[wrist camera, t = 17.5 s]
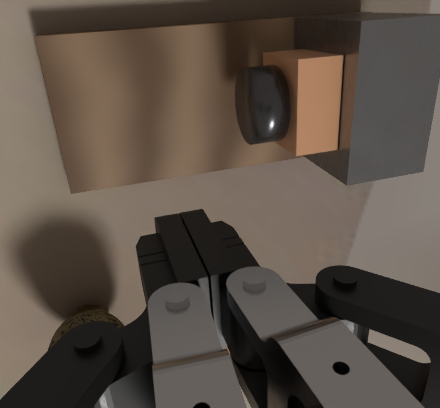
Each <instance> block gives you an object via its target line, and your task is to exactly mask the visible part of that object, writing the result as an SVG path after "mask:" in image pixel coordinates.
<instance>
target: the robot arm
mask: <svg viewBox="0 0 440 408" xmlns="http://www.w3.org/2000/svg"><path fill="white" fill-rule="evenodd" d="M155 228H156V233H155V234H150V235H145V236H141V237H140V239H139V241H138V243H137V245H136V251H137V257H138V263H139V269H140V275H141V281H142V287H143V291H144V296H145V300H146V305H147V306H146V309H145V310H144V312H143V313H142V314H141V315H140V316H139V317H138V318H137V319H136V320H134V321H133V322H131V323H130V324H128V325H126V326H124V327H122V328H120V329H119V328H118V327H117V326H115V325H114V324H112V323H109V322H105V321H92V322H87V323H84V324H81V325H78V326H76V327H74V328H72V329H71V330H69V331H68V332H66V333H65V334H64V335H63V336H62V337H61V338H60V339H59V340H58V341H57V342H56V343H55V344H54V345H53V346H52V347H51V348H50V349H49V350H48V351H47V352H46V353H45V354H44V355H43V356H42V357H41V359H40V360H39V361H38V362H37V363H36V364H35V365H34V366H33V367H32V368H31V369H30V370H29V371H28V372H27V373H26V374H25V375H24V376H23V377H22V378H21V379H20V380H19V381H18V382H17V383H16V384H15V385H14V386H13V387H12V388H11V389H10V390H9V391H8V392H7V393H6V394H5V395H4V396H3V397H2V399H1V400H0V408H246V404H245V401H244V398H243V395H242V392H241V389H242V391H243V393H244V394H245V396H246V398H247V400H248V402H249V404H250V406H251V408H440V293H437V292H434V291H430V290H427V289H424V288H420V287H417V286H414V285H410V284H407V283H404V282H400V281H397V280H394V279H390V278H387V277H384V276H381V275H377V274H374V273H370V272H367V271H364V270H360V269H357V268H354V267H350V266H341V265H339V266H330V267H327V268H324V269H323V270H321V271H320V272H319V273H318V274H317V276H316V284H290V283H285V282H284V280H283V279H282V278H281V277H280V276H279V275H278V274H277V273H276V272H274V271H272V270H270V269H267V268H264V267H260V266H259V264H258V263H257V261H256V260H255V258H254V257H253V255H252V254H251V253H250V251H249V250H248V248H247V247H246V245H244V242H243V241H242V240H241V238H239V235H238V234H237V232H236V231H235V229H234V228H233V227H232V226H230V225H228V224H226V223H225V222H223V221H218V222H212V223H211V222H210V220H209V219H208V217H207V215H206V214H205V212H204V210H203V209H199V210H193V211H188V212H182V213H179V214H178V213H177V214H172V215H166V216H161V217H155ZM369 329H371V330H374V331H377V332H380V333H382V334H385V335H388V336H390V337H393V338H396V339H398V340H401V341H404V342H406V343H409V344H412V345H414V346H417V347H419V348H421V349H422V350H424V351H425V352H426V353H427V355H428V356H429V357H430V360H431V363H419V362H417V361H414V360H411V359H409V358H406V357H404V356H401V355H398V354H396V353H393V352H390V351H388V350H386V349H383V348H380V347H378V346H376V345H373V344H370V343H368V335H369ZM224 346H228V349H229V351H230V355H229V352H228V350H227V349H224V350H223V349H222V347H224ZM240 387H241V389H240Z"/></svg>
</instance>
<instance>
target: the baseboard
mask: <svg viewBox="0 0 440 408" xmlns="http://www.w3.org/2000/svg"><path fill="white" fill-rule="evenodd" d="M352 13H366V12H352ZM352 13H338V14H352ZM368 13H372V12H368ZM338 14H324V15H338ZM324 15H310V16H296V17H282V18H268V19H254V20H240V21H226V22H212V23H198V24H184V25H170V26H157V27H143V28H129V29H115V30H101V31H87V32H73V33H59V34H45V35H36V36H34V37H35V41H36V46H37V50H38V54H39V58H40V63H41V67H42V71H43V76H44V80H45V84H46V88H47V93H48V97H49V101H50V106H51V110H52V114H53V119H54V123H55V127H56V131H57V136H58V140H59V144H60V149H61V153H62V157H63V161H64V166H65V170H66V174H67V179H68V183H69V187H70V192H71V194H73V193H79V192H86V191H92V190H98V189H105V188H111V187H117V186H124V185H130V184H136V183H143V182H149V181H155V180H161V179H168V178H174V177H180V176H187V175H193V174H199V173H206V172H212V171H218V170H225V169H231V168H237V167H244V166H250V165H256V164H263V163H269V162H275V161H282V160H288V159H294V158H300V157H304V156H303V155H301V156H295V155H294V154H292V153H291V152H289V151H288V150H286V149H285V148H283V147H281V146H280V145H278V144H277V143H275V142H268V143H261V144H254V145H249V144H248V143H247V142H246V141H245V140H244V138H243V136H242V134H241V131H240V128H239V125H238V121H237V116H236V109H235V84H236V79H237V75H238V73H239V71H240V70H241V69H242V68H246V67H256V66H263V53H264V52H275V51H286V50H294V23H295V18H297V17H311V16H324ZM286 82H287V80H286Z"/></svg>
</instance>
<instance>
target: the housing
mask: <svg viewBox="0 0 440 408" xmlns="http://www.w3.org/2000/svg"><path fill="white" fill-rule="evenodd" d="M297 49H305V50H312V51H319V52H326V53H333V54H340V55H343V70H342V85H341V101H340V117H339V132H338V148H337V150H333V151H327V152H320V153H314V154H308V155H303V156H304V157H306V158H307V159H309V160H310V161H312V162H313V163H314V164H316V165H317V166H319V167H320V168H322V169H323V170H325V171H326V172H328V173H329V174H331V175H332V176H334V177H335V178H336V179H338V180H339V181H341V182H342V183H344V184H345V185H352V184H358V183H363V182H369V181H374V180H380V179H385V178H391V177H396V176H402V175H408V174H413V173H419V172H423V169H424V164H425V157H426V152H427V146H428V141H429V135H430V130H431V124H432V119H433V113H434V107H435V102H436V96H437V90H438V85H439V79H440V14H417V13H368V12H366V13H352V14H338V15H324V16H311V17H297V18H295V23H294V50H297Z"/></svg>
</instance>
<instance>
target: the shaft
mask: <svg viewBox="0 0 440 408" xmlns="http://www.w3.org/2000/svg"><path fill="white" fill-rule="evenodd" d="M235 109H236V116H237V121H238V125H239V128H240V131H241V134H242V136H243V138H244V140H245V141H246V142H247V143H248V144H249V145H254V144H261V143H268V142H275V141H280V140H282V139H283V138H284V137H285V136H286V134H287V131H288V128H289V123H290V114H291V105H290V95H289V90H288V85H287V82H286V79H285V77H284V75H283V73H282V71H281V70H280V68H279V67H277V66H276V65H266V66H256V67H246V68H242V69H241V70H240V71H239V73H238V75H237V79H236V84H235Z"/></svg>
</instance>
